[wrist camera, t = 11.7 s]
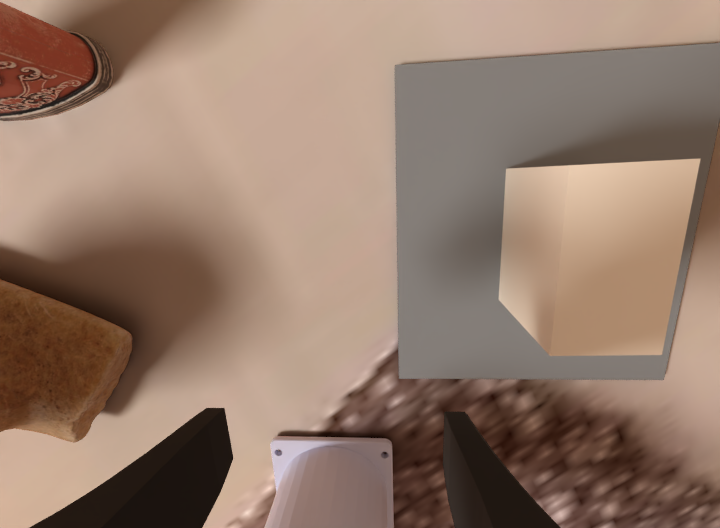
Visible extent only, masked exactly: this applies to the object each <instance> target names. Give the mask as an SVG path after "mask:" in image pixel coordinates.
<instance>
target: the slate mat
mask: <svg viewBox="0 0 720 528" xmlns="http://www.w3.org/2000/svg"><path fill="white" fill-rule="evenodd" d="M395 117H396V193H397V270H398V347H399V378H403V379H573V380H664V377H665V372H666V367H667V363H668V358H669V354H670V349H671V344H672V340H673V335H674V330H675V326H676V321H677V316H678V312H679V307H680V302H681V298H682V293H683V289H684V284H685V279H686V275H687V270H688V265H689V261H690V256H691V251H692V247H693V242H694V237H695V233H696V228H697V223H698V219H699V214H700V210H701V205H702V200H703V196H704V191H705V186H706V182H707V177H708V172H709V168H710V163H711V158H712V154H713V149H714V145H715V140H716V135H717V131H718V126H719V121H720V43H710V44H695V45H680V46H666V47H651V48H637V49H622V50H607V51H593V52H578V53H563V54H549V55H534V56H519V57H505V58H490V59H475V60H461V61H446V62H431V63H417V64H402V65H395ZM700 158H701V159H700ZM681 159H700V164H699V169H698V174H697V179H696V184H695V190H694V195H693V200H692V205H691V210H690V215H689V220H688V225H687V230H686V235H685V240H684V245H683V250H682V256H681V261H680V266H679V271H678V276H677V281H676V286H675V291H674V296H673V301H672V306H671V311H670V317H669V322H668V327H667V332H666V337H665V342H664V347H663V352H662V355H609V356H549V354H548V353H547V352H546V351H545V350H544V349H543V348H542V347H541V346H540V345H539V343H538V342H537V341H536V340H535V339H534V338H533V337H532V336H531V335H530V334H529V332H528V331H527V330H526V329H525V328H524V327H523V326H522V325H521V324H520V323H519V321H518V320H517V319H516V318H515V317H514V316H513V315H512V314H511V313H510V312H509V311H508V309H507V308H506V307H505V306H504V305H503V304H502V303H501V302H500V301H499V284H500V266H501V249H502V231H503V214H504V196H505V178H506V169H509V168H528V167H547V166H565V165H584V164H603V163H623V162H642V161H662V160H681Z"/></svg>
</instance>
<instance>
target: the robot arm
mask: <svg viewBox="0 0 720 528" xmlns="http://www.w3.org/2000/svg"><path fill="white" fill-rule="evenodd" d="M270 446H271V454H272V461H273V469H274V477H275V484H276V492H277V493H276V496H275V499H274V502H273V505H272V508H271V511H270V514H269V517H268V519H267V522H266V525H265V528H394V511H393V461H392V442H391V441H390V440H388V439H386V438H347V437H297V436H276V437H274V438H273V439H272V441H271V445H270ZM277 449H278V450H281V451H278V450H277ZM382 452H387V453H386V454H384V453H382ZM232 460H233V454H232V448H231V443H230V437H229V432H228V426H227V420H226V415H225V409H224V408H206V409H205V410H203V411H202V412H200V413H199V414H198V415H196V416H195V417H193V418H192V419H191V420H189V421H188V422H187V423H185V424H184V425H183V426H181V427H180V428H179V429H178V430H176V431H175V432H174V433H172V434H171V435H170V436H168V437H167V438H166V439H164V440H163V441H162V442H160V443H159V444H158V445H156V446H155V447H154V448H152V449H151V450H150V451H148V452H147V453H146V454H144V455H143V456H141V457H140V458H139V459H137V460H136V461H134V462H133V463H131V464H130V465H129V466H127V467H126V468H124V469H123V470H121V471H120V472H119V473H117V474H116V475H114V476H113V477H112V478H110V479H109V480H107V481H106V482H104V483H103V484H101V485H100V486H98V487H97V488H95V489H94V490H92V491H90V492H89V493H87V494H86V495H84V496H83V497H81V498H79V499H78V500H76V501H75V502H73V503H71V504H70V505H68V506H66V507H65V508H63V509H62V510H60V511H58V512H56V513H55V514H53V515H51V516H50V517H48V518H46V519H44V520H42V521H41V522H39V523H37V524H35V525H33V526H32V527H30V528H202V527H203V525H204V523H205V521H206V519H207V517H208V515H209V514H210V512H211V510H212V508H213V506H214V504H215V502H216V500H217V498H218V496H219V494H220V492H221V489H222V487H223V484H224V482H225V479H226V477H227V474H228V471H229V468H230V466H231V463H232ZM443 468H444V475H445V482H446V489H447V495H448V501H449V505H450V509H451V513H452V518H453V522H454V526H455V528H560V527H559V526H558V525H557V524H556V523H555V522H554V521H553V520H552V519H551V517H550V516H549V515H548V514H547V513H546V512H545V511H544V510H543V509H542V508H541V507H540V506H539V505H538V504H537V503H536V502H535V500H534V499H533V498H532V497H531V496H530V495H529V494H528V493H527V491H526V490H525V489H524V488H523V487H522V486H521V485H520V483H519V482H518V481H517V480H516V479H515V478H514V476H513V475H512V474H511V473H510V472H509V470H508V469H507V468H506V467H505V465H504V464H503V463H502V462H501V460H500V459H499V458H498V457H497V455H496V454H495V453H494V451H493V450H492V449H491V448H490V446H489V445H488V444H487V442H486V441H485V439H484V438H483V437H482V435H481V434H480V433H479V431H478V430H477V428H476V427H475V425H474V424H473V422H472V421H471V420H470V418H469V416H468V415H467V414H466V413H465V412H444V445H443Z"/></svg>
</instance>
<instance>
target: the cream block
mask: <svg viewBox="0 0 720 528" xmlns="http://www.w3.org/2000/svg"><path fill="white" fill-rule="evenodd" d="M700 159H701V158H700ZM700 159H681V160H662V161H642V162H623V163H603V164H584V165H565V166H547V167H528V168H509V169H506V178H505V196H504V214H503V231H502V249H501V266H500V284H499V301H500V302H501V303H502V304H503V305H504V306H505V307H506V308H507V309H508V311H509V312H510V313H511V314H512V315H513V316H514V317H515V318H516V319H517V320H518V321H519V323H520V324H521V325H522V326H523V327H524V328H525V329H526V330H527V331H528V332H529V334H530V335H531V336H532V337H533V338H534V339H535V340H536V341H537V342H538V343H539V345H540V346H541V347H542V348H543V349H544V350H545V351H546V352H547V353H548V354H549V356H609V355H662V352H663V347H664V342H665V337H666V332H667V327H668V322H669V317H670V311H671V306H672V301H673V296H674V291H675V286H676V281H677V276H678V271H679V266H680V261H681V256H682V250H683V245H684V240H685V235H686V230H687V225H688V220H689V215H690V210H691V205H692V200H693V195H694V190H695V184H696V179H697V174H698V169H699V164H700Z"/></svg>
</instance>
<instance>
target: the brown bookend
mask: <svg viewBox="0 0 720 528" xmlns="http://www.w3.org/2000/svg"><path fill="white" fill-rule="evenodd" d="M131 352H132V335H131V334H130V333H129V332H128V331H126V330H125V329H123V328H121V327H119V326H117V325H115V324H113V323H111V322H108V321H106V320H104V319H102V318H99V317H97V316H95V315H93V314H90V313H88V312H85V311H83V310H80V309H78V308H75V307H73V306H71V305H68V304H65V303H63V302H60V301H57V300H55V299H52V298H50V297H47V296H45V295H42V294H38V293H36V292H33V291H31V290H28V289H26V288H23V287H20V286H18V285H15V284H12V283H9V282H6V281H3V280H1V279H0V432H1V431H4V430H8V429H13V428H16V429H22V430H29V431H34V432H39V433H44V434H48V435H51V436H54V437H57V438H60V439H63V440H66V441H70V442H77V441H79V440H81V439H82V438H84V437H85V436H86V434H87V433H88V431H89V429H90V427H91V424H92V422H93V420H94V419H95V417H96V416H97V415H98V414H99V413H100V412H101V411H102V410H103V408H104V407H105V402H106V400H107V399H108V398H109V397H110V396H111V394H112V391H113V389H114V388H115V387H116V386H117V384H118V382H119V378H120V375H121V374H122V373H123V372H124V370H125V368H126V366H127V364H128V362H129V354H130V353H131Z"/></svg>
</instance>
